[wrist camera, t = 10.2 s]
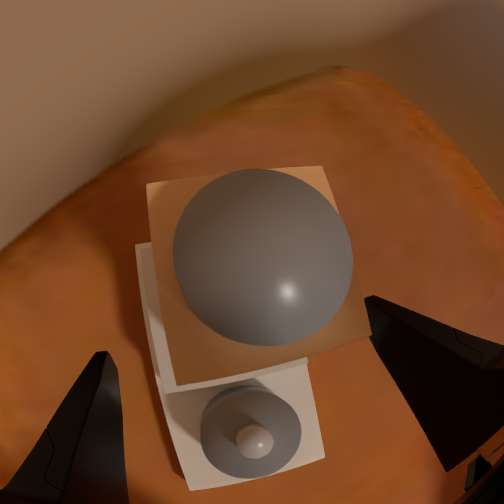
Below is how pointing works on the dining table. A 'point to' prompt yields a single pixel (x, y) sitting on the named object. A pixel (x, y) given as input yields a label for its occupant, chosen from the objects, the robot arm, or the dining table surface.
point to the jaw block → (252, 271)
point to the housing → (231, 409)
